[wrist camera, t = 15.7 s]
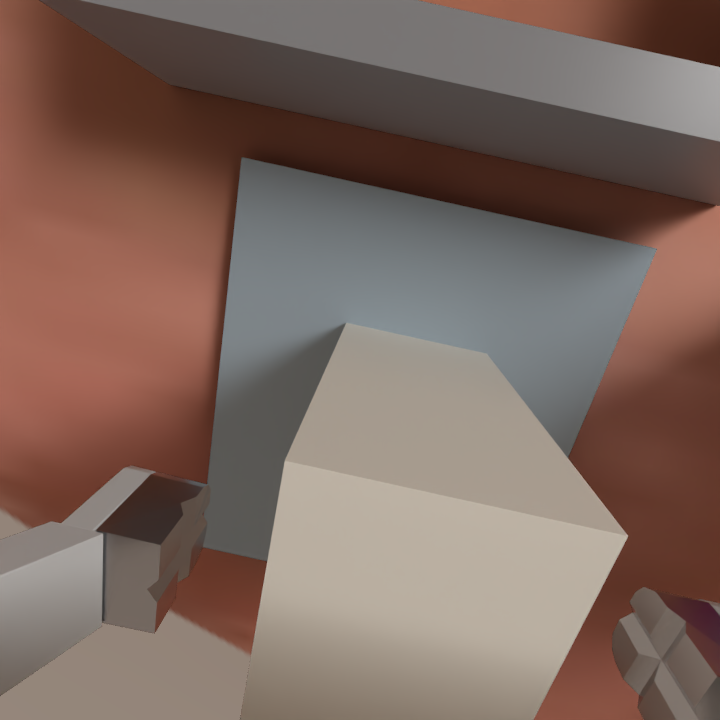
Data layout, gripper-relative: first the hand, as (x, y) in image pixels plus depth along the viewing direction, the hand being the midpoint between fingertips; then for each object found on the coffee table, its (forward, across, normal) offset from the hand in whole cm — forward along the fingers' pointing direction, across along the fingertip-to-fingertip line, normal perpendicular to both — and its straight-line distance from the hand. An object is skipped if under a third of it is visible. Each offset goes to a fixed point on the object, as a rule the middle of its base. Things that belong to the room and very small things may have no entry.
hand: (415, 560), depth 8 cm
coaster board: (+7, 0, 0) cm, 7 cm away
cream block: (+6, 0, 0) cm, 6 cm away
